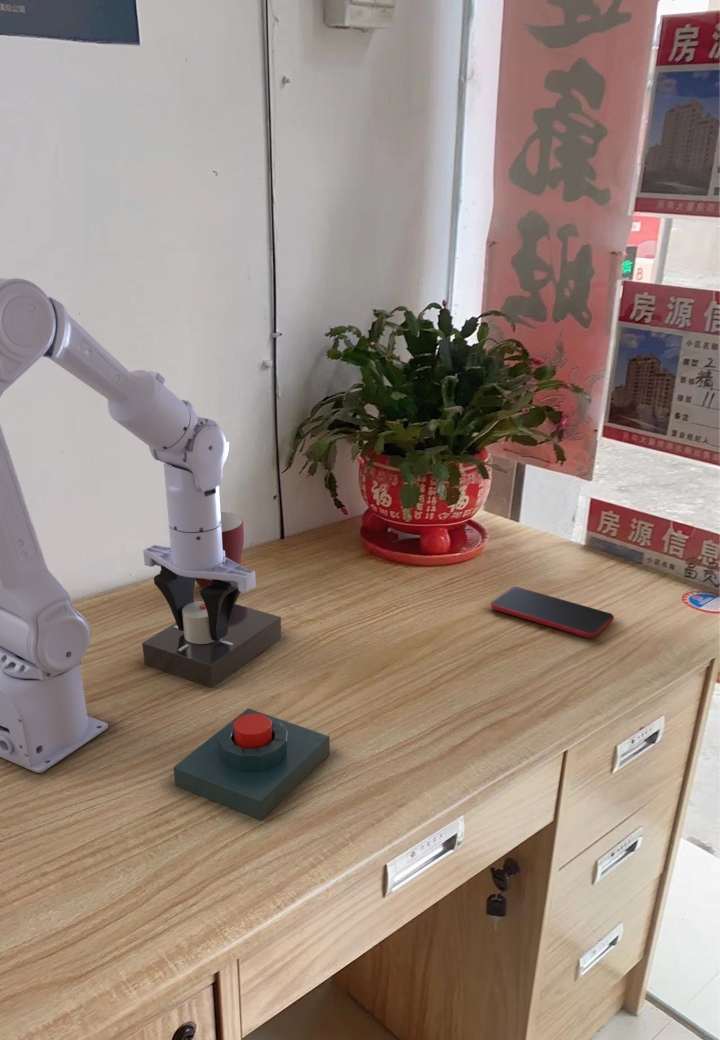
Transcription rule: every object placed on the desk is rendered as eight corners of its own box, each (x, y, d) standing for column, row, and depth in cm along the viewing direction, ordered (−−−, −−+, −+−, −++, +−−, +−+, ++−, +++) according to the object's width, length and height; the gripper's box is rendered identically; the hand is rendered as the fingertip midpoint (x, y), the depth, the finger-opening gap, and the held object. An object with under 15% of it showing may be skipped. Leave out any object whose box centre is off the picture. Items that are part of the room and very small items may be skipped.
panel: (212, 687, 100) (210, 663, 98) (144, 664, 104) (141, 641, 102) (281, 638, 111) (280, 615, 109) (217, 619, 115) (216, 597, 113)
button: (257, 753, 83) (257, 738, 82) (226, 742, 84) (225, 727, 83) (279, 735, 85) (278, 720, 85) (249, 724, 87) (248, 709, 86)
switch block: (261, 820, 80) (259, 785, 78) (174, 785, 84) (171, 751, 82) (329, 754, 89) (330, 721, 87) (248, 725, 93) (247, 693, 91)
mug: (192, 612, 116) (186, 542, 111) (160, 592, 122) (154, 524, 117) (257, 591, 122) (255, 523, 118) (225, 573, 128) (221, 507, 123)
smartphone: (513, 585, 124) (616, 614, 116) (513, 591, 124) (615, 620, 116) (488, 603, 118) (594, 635, 111) (487, 609, 119) (593, 641, 111)
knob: (206, 647, 102) (204, 618, 100) (176, 638, 104) (173, 609, 102) (229, 632, 105) (227, 604, 103) (200, 623, 107) (197, 595, 105)
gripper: (269, 525, 98) (273, 633, 104) (168, 501, 104) (177, 605, 110) (231, 545, 92) (237, 658, 99) (126, 519, 98) (138, 627, 105)
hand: (203, 632), depth 104 cm, fingers closed on knob, 4 cm apart
